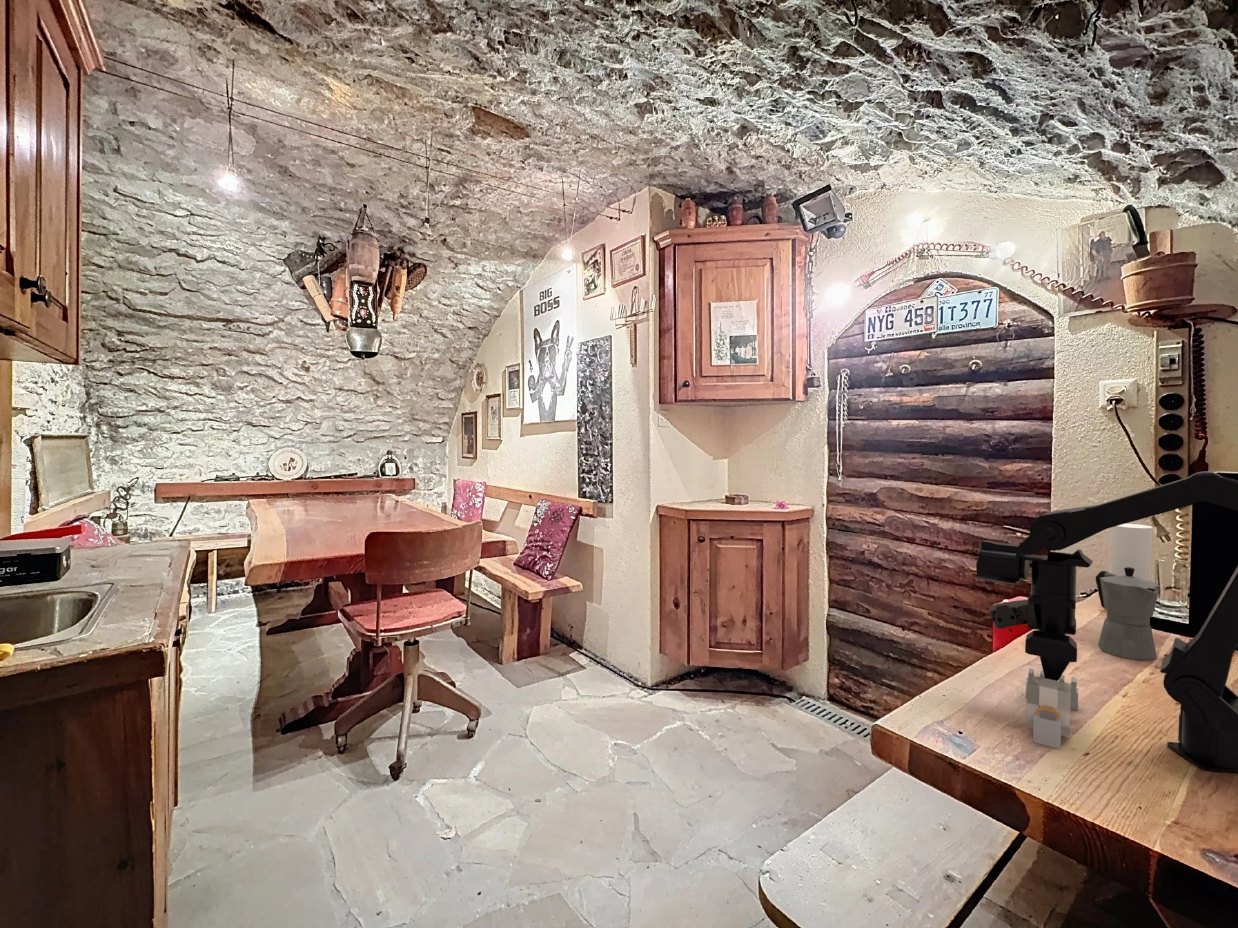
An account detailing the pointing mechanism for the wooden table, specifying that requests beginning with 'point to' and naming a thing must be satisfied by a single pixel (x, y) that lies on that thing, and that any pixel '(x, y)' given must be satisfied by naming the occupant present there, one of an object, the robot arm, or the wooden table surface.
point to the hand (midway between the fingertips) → (1050, 685)
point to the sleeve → (1049, 700)
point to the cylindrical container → (1131, 550)
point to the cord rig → (1051, 717)
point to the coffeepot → (1127, 615)
